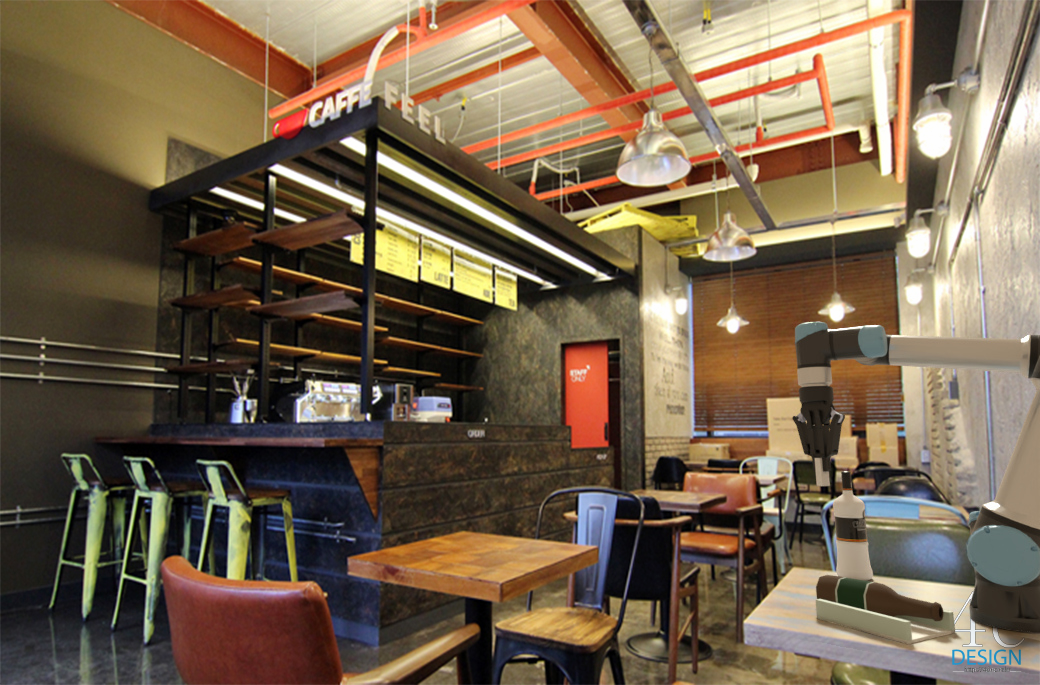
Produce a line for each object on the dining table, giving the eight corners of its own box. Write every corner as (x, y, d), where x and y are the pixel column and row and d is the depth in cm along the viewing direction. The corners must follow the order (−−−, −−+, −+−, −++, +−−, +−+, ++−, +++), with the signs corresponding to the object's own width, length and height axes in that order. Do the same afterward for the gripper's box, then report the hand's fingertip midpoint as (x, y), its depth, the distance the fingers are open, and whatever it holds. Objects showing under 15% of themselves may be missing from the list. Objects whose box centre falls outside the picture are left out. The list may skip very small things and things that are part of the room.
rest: (955, 632, 127) (953, 611, 128) (907, 644, 120) (905, 622, 121) (863, 609, 145) (861, 591, 146) (816, 618, 138) (815, 599, 138)
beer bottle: (820, 615, 143) (940, 641, 125) (811, 584, 143) (930, 605, 124) (834, 597, 148) (951, 619, 130) (826, 567, 147) (942, 584, 129)
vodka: (843, 573, 185) (835, 470, 190) (877, 578, 179) (868, 471, 183) (831, 578, 179) (823, 471, 184) (866, 583, 172) (857, 472, 177)
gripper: (850, 384, 147) (859, 486, 144) (802, 388, 159) (810, 483, 155) (829, 383, 144) (837, 488, 140) (782, 387, 155) (789, 484, 152)
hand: (823, 485), depth 148 cm, fingers closed
